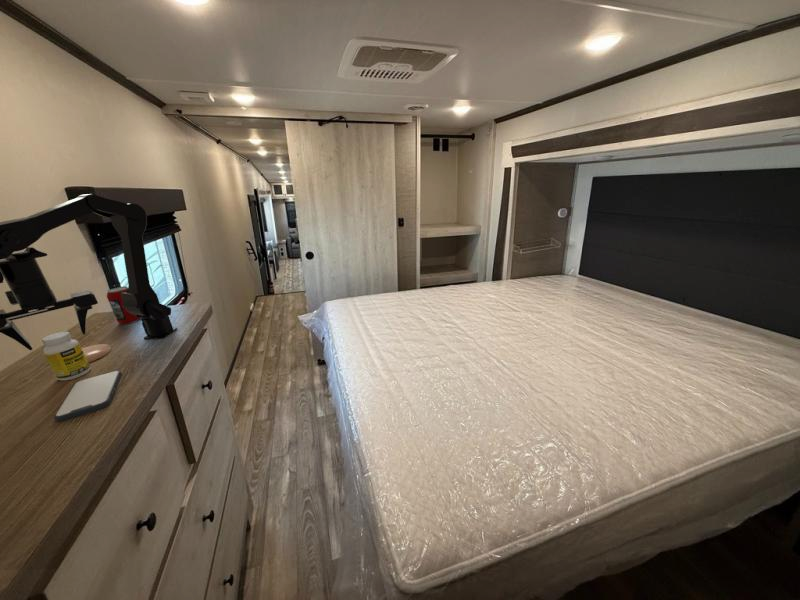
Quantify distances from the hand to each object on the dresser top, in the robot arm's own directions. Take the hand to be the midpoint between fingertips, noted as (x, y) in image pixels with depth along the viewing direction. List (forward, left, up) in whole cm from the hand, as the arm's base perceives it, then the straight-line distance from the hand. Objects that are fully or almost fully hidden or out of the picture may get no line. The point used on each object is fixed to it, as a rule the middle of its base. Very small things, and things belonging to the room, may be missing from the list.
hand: (58, 341), depth 77 cm
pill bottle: (0, 0, -10) cm, 10 cm away
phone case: (-13, +9, -10) cm, 19 cm away
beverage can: (+13, -33, -10) cm, 37 cm away
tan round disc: (+6, -9, -9) cm, 14 cm away
